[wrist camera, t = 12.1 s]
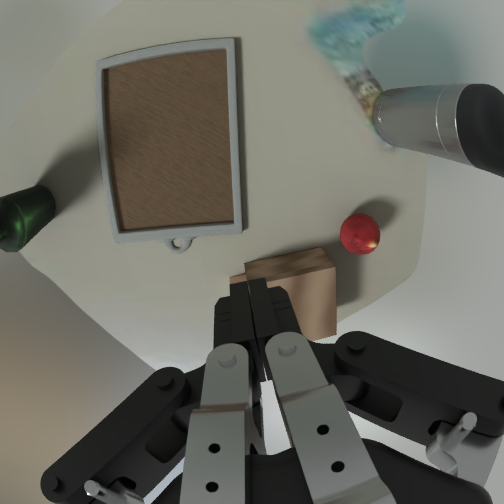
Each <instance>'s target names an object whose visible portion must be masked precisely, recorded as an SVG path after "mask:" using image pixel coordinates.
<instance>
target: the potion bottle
mask: <svg viewBox="0 0 504 504" xmlns="http://www.w3.org/2000/svg"><path fill="white" fill-rule="evenodd" d="M54 212H55V203H54V199H53V197H52V194H51V192H50V191H49V190H48V189H47V188H46V187H43V186H41V185H40V186H35V187H31V188H28V189H24V190H21V191H18V192H15V193H12V194H9V195H6V196H3V197H0V249H2V250H4V251H6V252H18V251H19V250H21V249H22V248H23V247H24V246H25V245H26V244H27V243H28V242H29V241H30V240H31V239H32V238H33V237H34V236H35V235H36V234H37V233H38V232H39V231H40V230H41V229H42V228H44V227H45V226H46V225H47V224H48V223H49V222H50V221H51V220H52V218H53V216H54Z"/></svg>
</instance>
